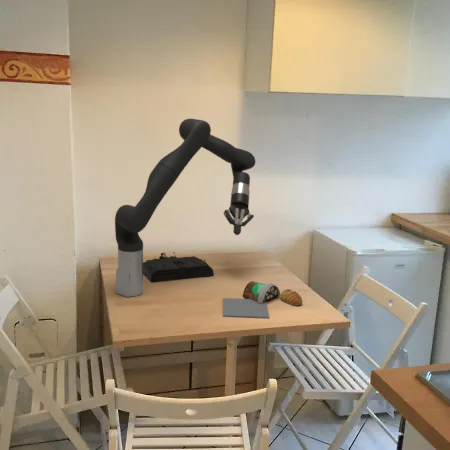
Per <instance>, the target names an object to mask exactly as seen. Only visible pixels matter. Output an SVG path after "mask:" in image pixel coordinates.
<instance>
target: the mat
mask: <svg viewBox="0 0 450 450" xmlns="http://www.w3.org/2000/svg"><path fill="white" fill-rule="evenodd" d="M268 308H269V307H268V304H267V301H264V302H263V304H262V303H257V302H256V301H254V300H251V299H248V298H229V297H223V298H222V317H223V318H226V317H227V318H245V319H246V318H248V319H249V318H250V319H252V318H253V319H270V314H269V309H268Z"/></svg>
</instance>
